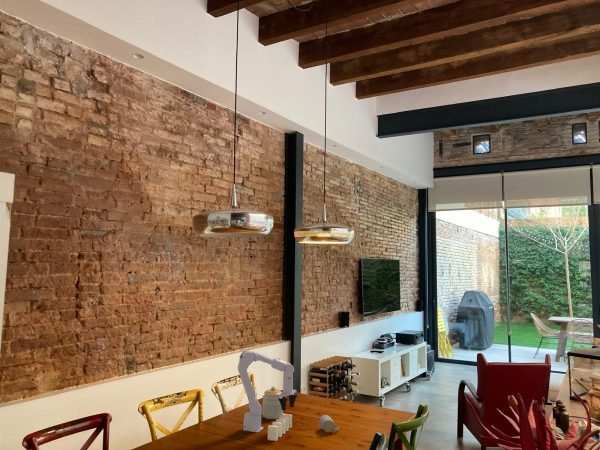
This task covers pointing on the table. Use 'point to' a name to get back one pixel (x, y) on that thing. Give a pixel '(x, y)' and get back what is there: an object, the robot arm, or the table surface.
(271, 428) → the tile
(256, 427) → the robot arm
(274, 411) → the jar
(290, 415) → the tile
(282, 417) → the tile
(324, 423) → the ceramic mug
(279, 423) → the tile
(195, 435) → the table surface
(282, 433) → the tile
